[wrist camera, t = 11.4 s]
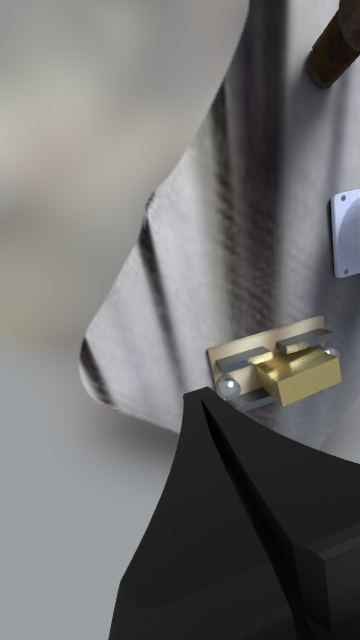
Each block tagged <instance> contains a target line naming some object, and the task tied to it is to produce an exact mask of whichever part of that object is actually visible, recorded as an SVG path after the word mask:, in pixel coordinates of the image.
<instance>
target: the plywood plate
mask: <svg viewBox="0 0 360 640" xmlns="http://www.w3.org/2000/svg"><path fill="white" fill-rule="evenodd" d="M319 328H322V329H324V317H323V316H320V315H318V316H315V317H311V318H308V319H305V320H301V321H298V322H295V323H292V324H288V325H285V326H282V327H278V328H275V329H272V330H268V331H265V332H262V333H258V334H255V335H252V336H248V337H245V338H242V339H238V340H235V341H232V342H228V343H225V344H222V345H218V346H215V347H212V348H208V349H207V352H208V356H209V361H210V365H211V369H212V373H213V378H214V382H215V386H216V382H217V379H218V378H219V377H220V376H221V375H223V374H222V373H221V372H220V370H219V369H218V368H217V364H216V360H218V359H221V358H224V357H228V356H231V355H234V354H237V353H241V352H244V351H247V350H250V349H254V348H257V347H260V346H263V347H265V348H267V349H269V350H270V351H272V355H274V354H277V353H279V352H282V351H281V350H279V349H277V344H276V341H280V340H283V339H286V338H289V337H293V336H296V335H299V334H302V333H306V332H309V331H312V330H315V329H319ZM321 344H322V345H324V346H326V344H325V342H324V343H321ZM312 347H314V346H312ZM226 374H230V375H232V376H233V378H234V379H235V380H236V381H237V382H238V383H239V385H240V386H241V393H240V395H241V394H244V393H247V392H250V391H253V390H256V389H259V388H262V386H261V385H260V384H259V383H258V380H257V376H256V372H255V368H254V365H251V366H248V367H245V368H242V369H239V370H236V371H232V372H229V373H226ZM216 391H217V394H218V395H219V396H220V397H221V398H222V399H224V400H226V399H225V398H224V397H223V396H222V394H221V393H220V391H219V389H218V388H217V386H216Z"/></svg>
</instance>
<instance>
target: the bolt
mask: <svg viewBox="0 0 360 640" xmlns="http://www.w3.org/2000/svg"><path fill="white" fill-rule="evenodd" d="M312 49H313V50H312V51H310V54H309V58H308V62H307V70H308V71H309V73H310V74H311V76H312V77H313V79H314V80H315V82H316V83H317V85H318V86H319V87H321V88H327V87H329V86H331V84H332V83H334V82H335V81H336V80H337V79H338V78H339V77H340V76H341V75H342V74H343V73H344V71H345V70H346V69H347V68H348V67H349V66H350V65H351V64H352V63H353V62H354V61H355V60H356V59H357V57H358V56H359V55H360V0H340V3H339V10H338V11H337V12H336V14H335V15H334V17H333V18H332V20H331V21H330V22H329V24H328V25H327V27H326V28H325V29H324V31H323V33H322V34H321V35H320V37H319V38H318V39H317V41H316V43H315V44H314V45H313V47H312Z"/></svg>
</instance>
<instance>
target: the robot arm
mask: <svg viewBox="0 0 360 640" xmlns="http://www.w3.org/2000/svg"><path fill="white" fill-rule="evenodd" d="M341 198H342V200H341ZM331 214H332V232H333V250H334V268H335V276H336V278H344V277H347V276H351V275H354V274H358V273H360V189H356V190H352V191H348V192H344V193H339V194H337V195H334V196H333V197H332V199H331ZM344 271H345V273H344ZM183 399H184V409H183V419H182V426H181V432H180V436H179V441H178V446H177V450H176V454H175V457H174V460H173V464H172V467H171V470H170V473H169V476H168V479H167V482H166V485H165V487H164V490H163V492H162V495H161V497H160V500H159V502H158V504H157V507H156V509H155V511H154V514H153V516H152V518H151V521H150V523H149V525H148V527H147V529H146V532H145V534H144V536H143V538H142V540H141V542H140V544H139V546H138V548H137V550H136V552H135V554H134V556H133V558H132V560H131V562H130V564H129V566H128V568H127V570H126V572H125V573H124V576H123V577H122V579H121V581H120V585H119V589H118V594H117V599H116V603H115V608H114V613H113V618H112V623H111V629H110V634H109V639H108V640H360V464H358V463H354V462H351V461H348V460H344V459H341V458H338V457H336V456H333V455H330V454H327V453H324V452H321V451H319V450H316V449H313V448H311V447H308V446H306V445H303V444H301V443H299V442H296V441H294V440H292V439H289V438H287V437H285V436H283V435H280V434H278V433H276V432H274V431H272V430H270V429H269V428H267V427H265V426H263V425H261V424H259V423H258V422H256V421H254V420H253V419H251V418H249V417H248V416H246V415H245V414H243V413H242V412H240V411H239V410H237V409H236V408H234V407H233V406H232V405H230V404H229V403H228V402H226V401H225V400H224V399H222V398H221V397H220V396H219V395H218V394H216V393H215V392H214V391H213V390H212V389H211V388H209V387H204V388H201V389H198V390H195V391H192V392H189V393H186V394H184V396H183Z"/></svg>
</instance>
